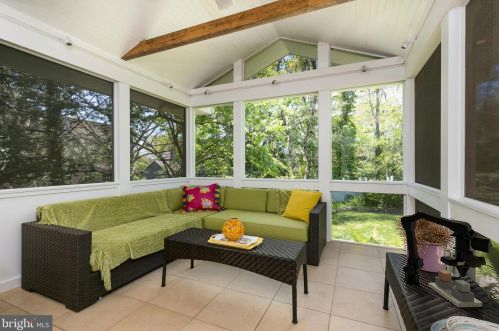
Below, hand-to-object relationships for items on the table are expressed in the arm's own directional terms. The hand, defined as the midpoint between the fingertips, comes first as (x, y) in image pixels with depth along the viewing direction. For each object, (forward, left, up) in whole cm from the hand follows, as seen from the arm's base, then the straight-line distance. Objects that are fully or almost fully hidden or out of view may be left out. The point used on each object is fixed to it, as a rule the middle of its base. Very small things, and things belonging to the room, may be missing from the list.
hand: (462, 277), depth 119 cm
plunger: (0, 0, -8) cm, 8 cm away
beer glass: (+18, +27, -13) cm, 35 cm away
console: (0, +6, -13) cm, 14 cm away
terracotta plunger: (0, +11, -8) cm, 13 cm away
